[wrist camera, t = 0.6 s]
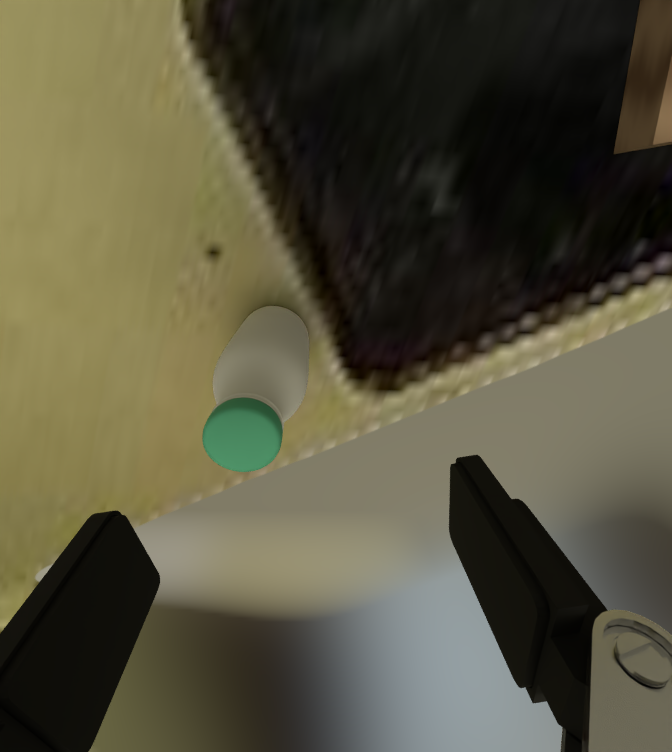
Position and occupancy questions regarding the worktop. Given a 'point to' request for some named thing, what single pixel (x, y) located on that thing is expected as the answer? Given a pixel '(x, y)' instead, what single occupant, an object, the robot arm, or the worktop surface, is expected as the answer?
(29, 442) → the worktop surface
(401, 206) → the worktop surface
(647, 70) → the wooden frame
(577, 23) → the worktop surface
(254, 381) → the milk bottle
